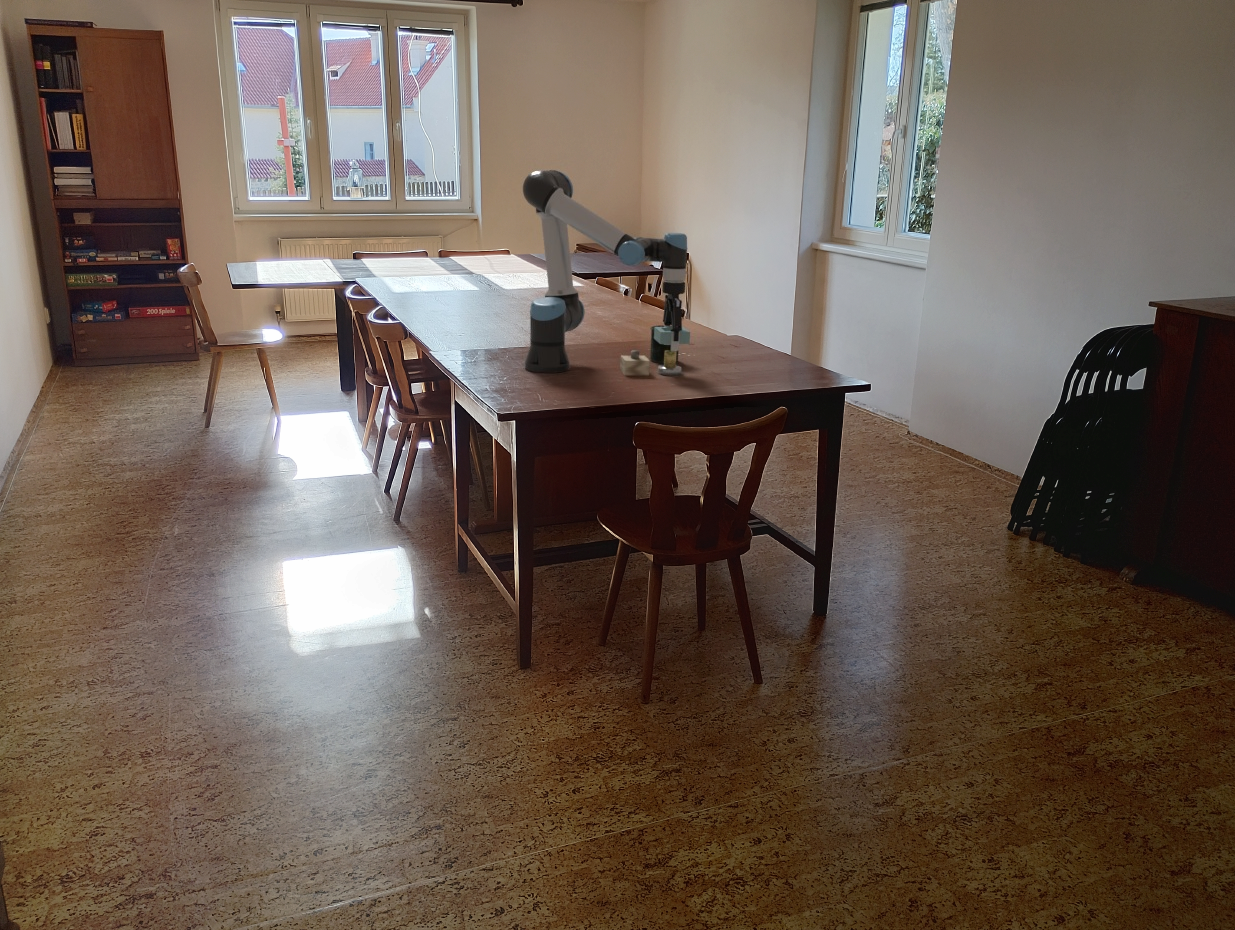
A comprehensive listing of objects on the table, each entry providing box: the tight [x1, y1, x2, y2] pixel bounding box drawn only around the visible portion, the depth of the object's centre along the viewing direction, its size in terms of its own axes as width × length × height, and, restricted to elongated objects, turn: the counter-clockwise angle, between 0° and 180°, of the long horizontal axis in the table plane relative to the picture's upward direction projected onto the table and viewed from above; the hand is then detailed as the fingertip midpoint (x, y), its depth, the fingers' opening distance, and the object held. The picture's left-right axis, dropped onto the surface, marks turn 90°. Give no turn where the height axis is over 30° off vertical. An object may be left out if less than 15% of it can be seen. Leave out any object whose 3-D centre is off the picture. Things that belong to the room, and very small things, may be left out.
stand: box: [619, 349, 651, 376], centre depth 320 cm, size 8×8×7 cm
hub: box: [657, 350, 682, 377], centre depth 321 cm, size 8×8×8 cm
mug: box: [649, 324, 680, 364], centre depth 340 cm, size 11×15×12 cm
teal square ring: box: [654, 326, 691, 345], centre depth 318 cm, size 10×10×4 cm
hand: (671, 347), depth 319 cm, fingers closed on teal square ring, 10 cm apart
